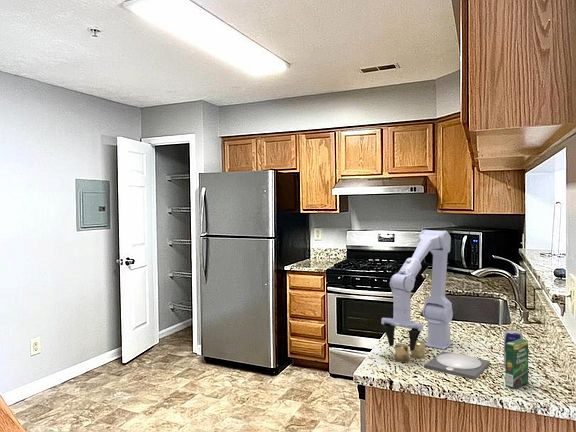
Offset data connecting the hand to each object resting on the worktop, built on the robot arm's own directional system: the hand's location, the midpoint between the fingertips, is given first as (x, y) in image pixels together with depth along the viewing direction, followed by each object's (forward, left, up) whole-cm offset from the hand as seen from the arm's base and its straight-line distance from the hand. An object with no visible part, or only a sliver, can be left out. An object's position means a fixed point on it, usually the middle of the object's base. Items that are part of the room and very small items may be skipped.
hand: (401, 347), depth 154 cm
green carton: (-1, +36, -4) cm, 36 cm away
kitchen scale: (-6, +17, -4) cm, 19 cm away
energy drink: (-15, +32, -4) cm, 36 cm away
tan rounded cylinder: (-7, +3, -4) cm, 9 cm away
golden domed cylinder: (0, 0, -4) cm, 4 cm away
